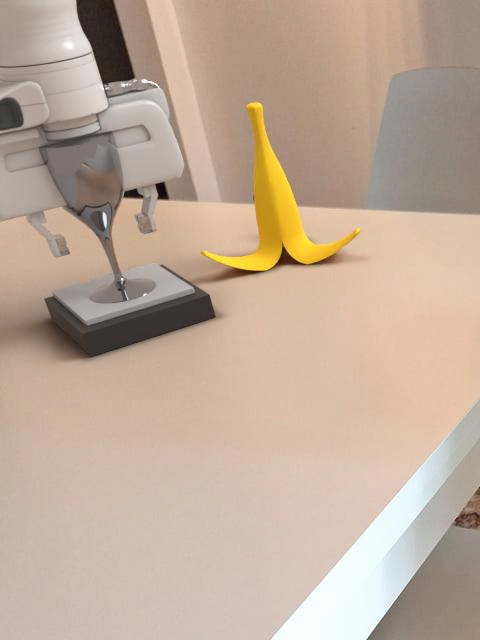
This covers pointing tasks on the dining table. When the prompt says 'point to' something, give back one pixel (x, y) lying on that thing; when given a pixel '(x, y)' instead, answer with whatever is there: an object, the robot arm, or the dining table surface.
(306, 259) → the banana peel
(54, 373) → the dining table surface
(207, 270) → the dining table surface
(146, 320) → the scale
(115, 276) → the wine glass
